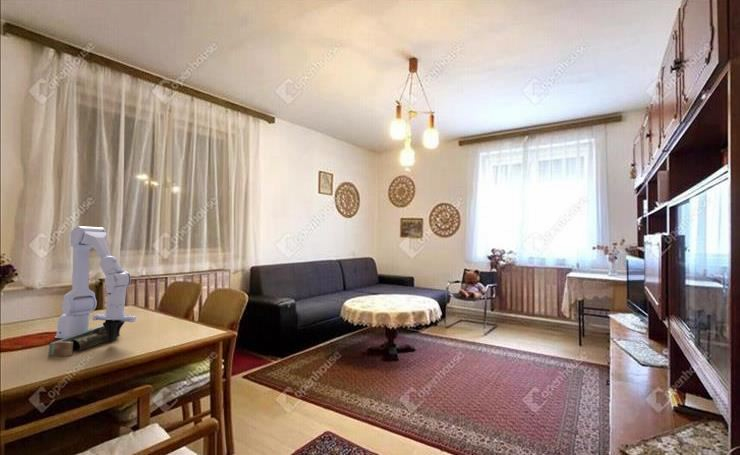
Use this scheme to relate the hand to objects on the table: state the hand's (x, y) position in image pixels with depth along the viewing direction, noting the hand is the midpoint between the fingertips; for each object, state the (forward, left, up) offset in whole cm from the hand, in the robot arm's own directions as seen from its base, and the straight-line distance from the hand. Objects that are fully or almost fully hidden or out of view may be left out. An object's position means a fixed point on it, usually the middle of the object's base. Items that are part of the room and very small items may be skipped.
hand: (112, 340), depth 136 cm
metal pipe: (-7, +1, -2) cm, 7 cm away
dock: (-9, 0, -2) cm, 9 cm away
